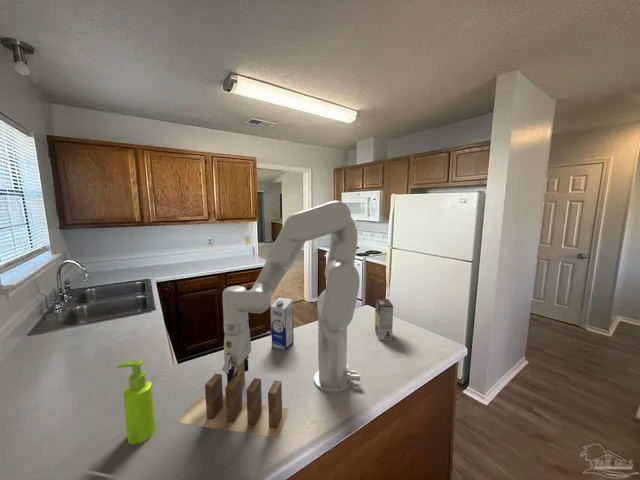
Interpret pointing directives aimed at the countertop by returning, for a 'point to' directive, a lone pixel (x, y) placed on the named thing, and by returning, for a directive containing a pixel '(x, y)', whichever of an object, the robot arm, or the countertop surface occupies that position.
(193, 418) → the runner
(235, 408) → the domino
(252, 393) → the domino
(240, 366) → the domino
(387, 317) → the coffee box
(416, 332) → the countertop surface
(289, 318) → the milk carton
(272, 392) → the domino
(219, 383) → the domino
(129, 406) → the soap dispenser
